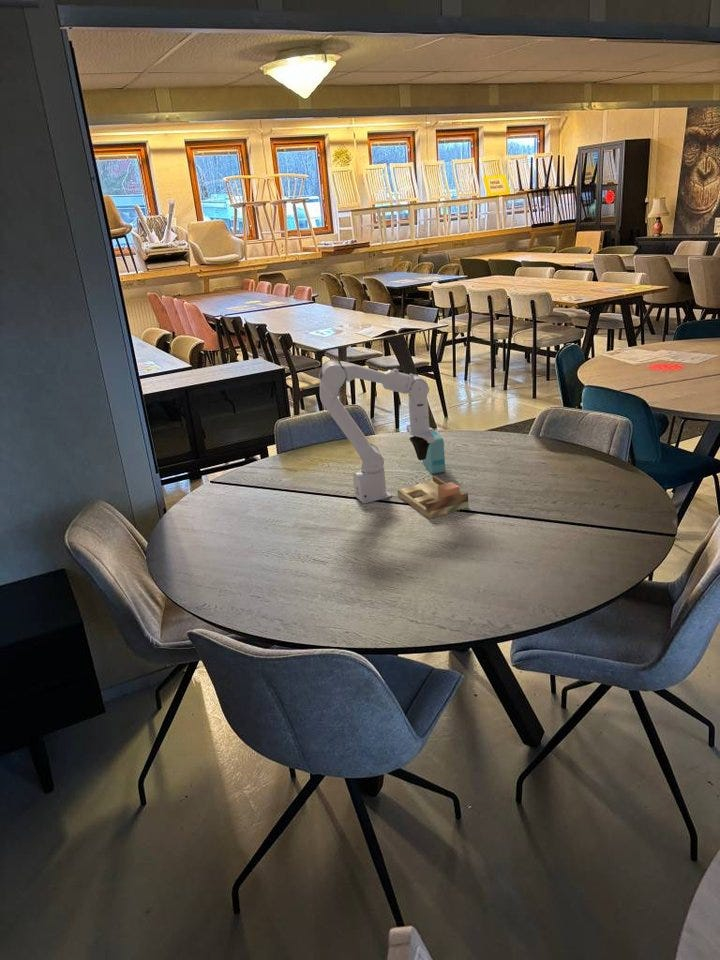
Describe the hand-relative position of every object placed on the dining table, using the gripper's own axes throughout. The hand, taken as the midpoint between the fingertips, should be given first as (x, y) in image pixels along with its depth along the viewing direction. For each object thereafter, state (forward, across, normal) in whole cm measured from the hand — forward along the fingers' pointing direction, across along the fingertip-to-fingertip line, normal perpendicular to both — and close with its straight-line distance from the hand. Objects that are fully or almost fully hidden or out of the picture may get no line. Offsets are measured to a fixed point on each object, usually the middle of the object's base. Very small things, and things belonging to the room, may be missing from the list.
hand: (421, 459), depth 206 cm
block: (+8, -16, 0) cm, 18 cm away
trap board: (+10, -10, +2) cm, 14 cm away
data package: (+10, +14, -11) cm, 21 cm away
